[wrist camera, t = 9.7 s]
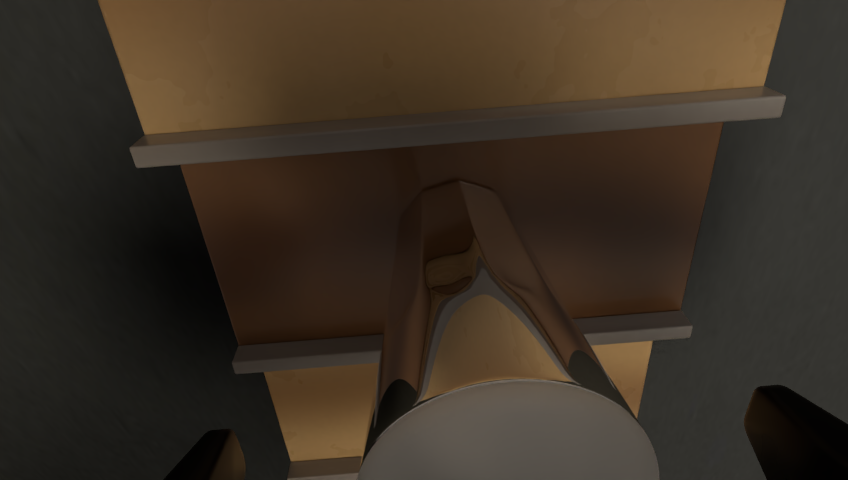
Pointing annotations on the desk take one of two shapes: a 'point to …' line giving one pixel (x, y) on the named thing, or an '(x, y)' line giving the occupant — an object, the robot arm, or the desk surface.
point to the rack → (436, 163)
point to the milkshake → (489, 361)
